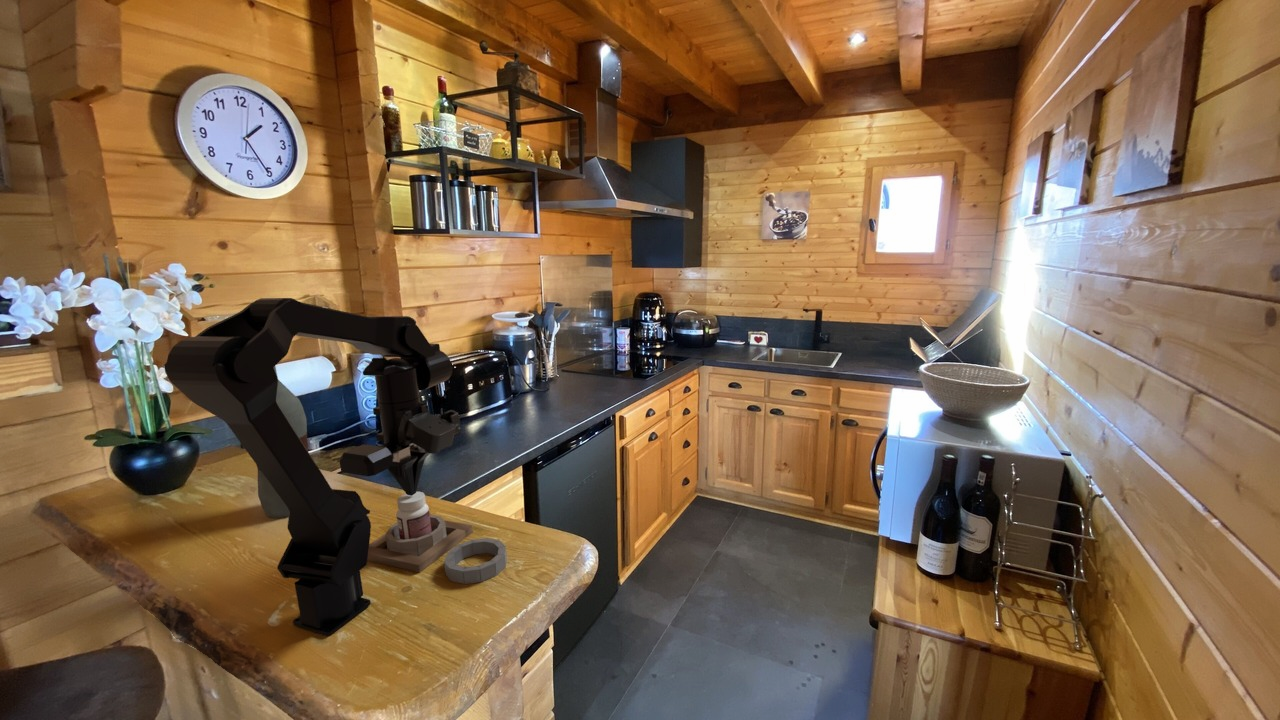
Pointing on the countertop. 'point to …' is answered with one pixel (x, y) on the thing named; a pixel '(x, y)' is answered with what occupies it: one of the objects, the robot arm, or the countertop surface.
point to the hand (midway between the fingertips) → (411, 494)
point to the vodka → (297, 419)
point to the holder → (480, 571)
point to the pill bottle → (413, 516)
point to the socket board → (417, 545)
